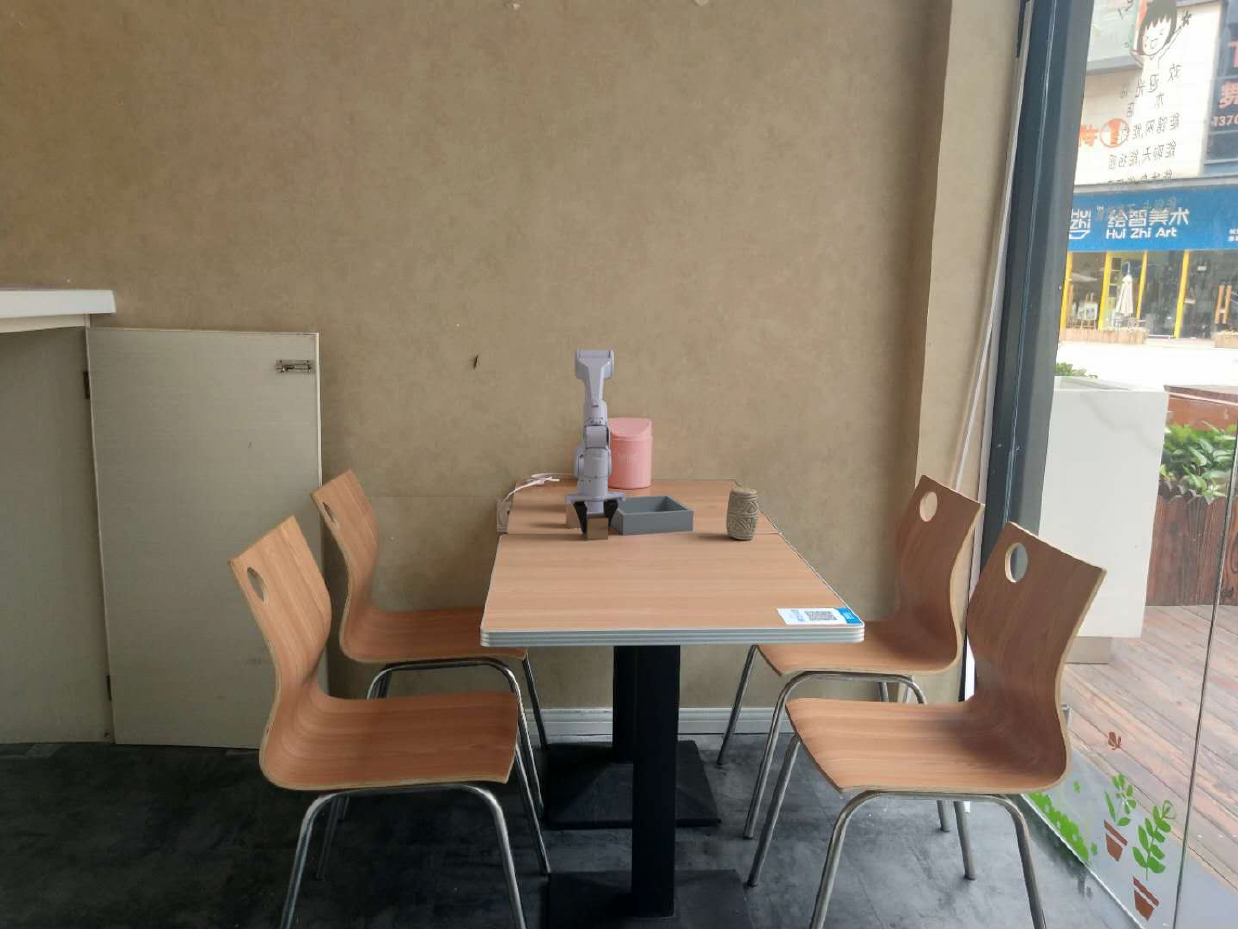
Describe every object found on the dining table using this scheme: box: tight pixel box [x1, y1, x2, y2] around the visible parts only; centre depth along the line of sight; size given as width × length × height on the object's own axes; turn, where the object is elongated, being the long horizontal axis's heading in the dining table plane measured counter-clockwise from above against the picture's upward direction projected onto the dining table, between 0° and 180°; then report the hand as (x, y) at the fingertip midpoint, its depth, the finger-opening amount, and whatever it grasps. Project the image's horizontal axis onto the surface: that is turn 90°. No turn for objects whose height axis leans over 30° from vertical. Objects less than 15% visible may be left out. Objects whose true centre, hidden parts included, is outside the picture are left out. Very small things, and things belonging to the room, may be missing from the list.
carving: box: [725, 486, 759, 541], centre depth 216 cm, size 6×8×12 cm
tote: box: [603, 494, 694, 536], centre depth 228 cm, size 18×18×5 cm
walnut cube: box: [581, 514, 609, 541], centre depth 215 cm, size 5×5×5 cm
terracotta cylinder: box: [565, 503, 586, 529], centre depth 225 cm, size 5×5×7 cm
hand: (595, 531), depth 216 cm, fingers closed on walnut cube, 5 cm apart
